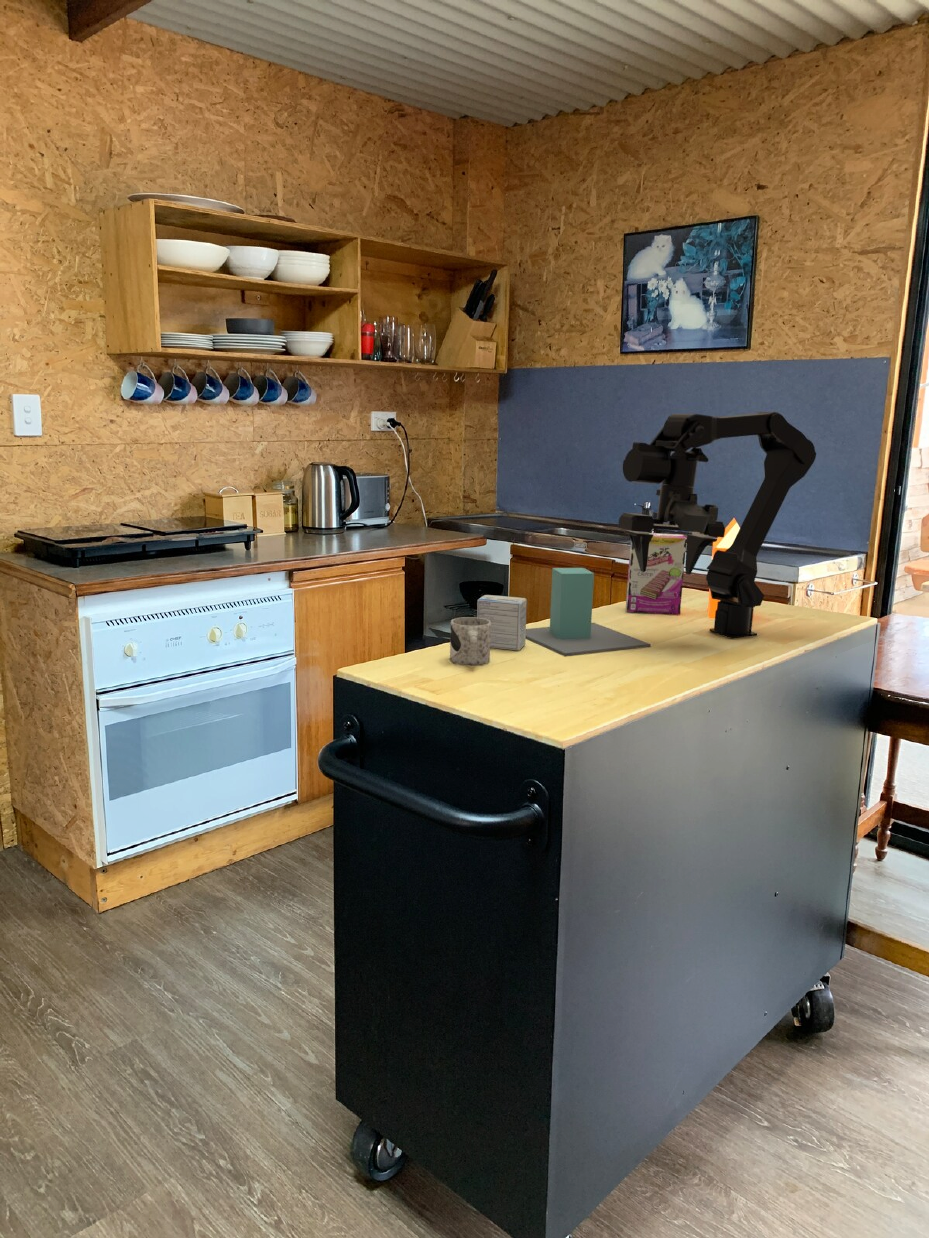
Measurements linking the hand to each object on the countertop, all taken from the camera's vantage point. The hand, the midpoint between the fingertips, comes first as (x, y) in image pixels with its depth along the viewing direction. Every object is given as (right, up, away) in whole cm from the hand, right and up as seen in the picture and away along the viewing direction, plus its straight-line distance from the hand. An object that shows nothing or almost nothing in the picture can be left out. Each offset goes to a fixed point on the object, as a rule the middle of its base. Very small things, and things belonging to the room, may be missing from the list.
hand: (665, 573), depth 167 cm
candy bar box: (+3, -7, +28) cm, 29 cm away
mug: (-35, -16, -15) cm, 41 cm away
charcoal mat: (-15, -12, +3) cm, 19 cm away
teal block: (-17, -11, +4) cm, 21 cm away
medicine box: (-30, -13, -3) cm, 33 cm away
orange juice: (+19, -8, +27) cm, 34 cm away
